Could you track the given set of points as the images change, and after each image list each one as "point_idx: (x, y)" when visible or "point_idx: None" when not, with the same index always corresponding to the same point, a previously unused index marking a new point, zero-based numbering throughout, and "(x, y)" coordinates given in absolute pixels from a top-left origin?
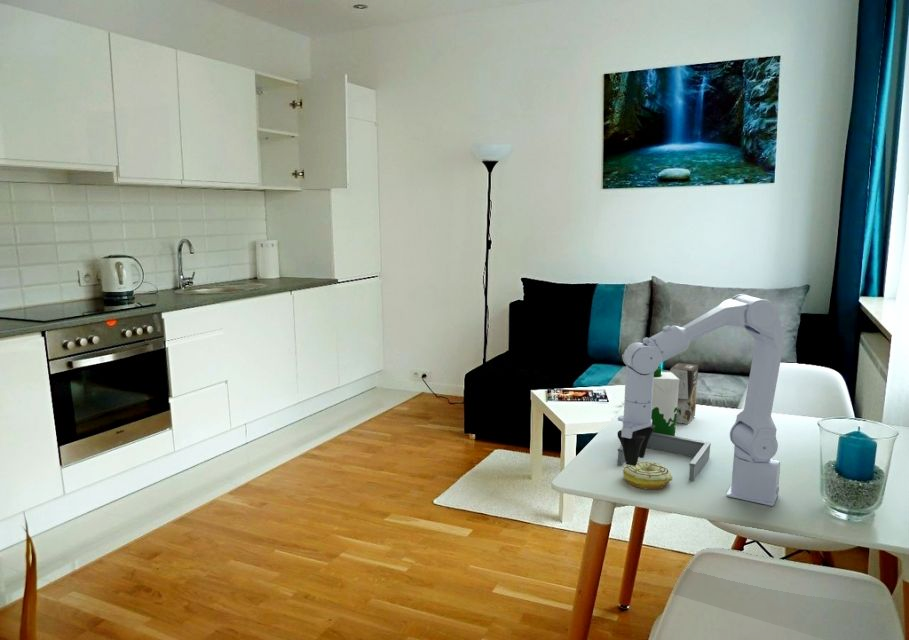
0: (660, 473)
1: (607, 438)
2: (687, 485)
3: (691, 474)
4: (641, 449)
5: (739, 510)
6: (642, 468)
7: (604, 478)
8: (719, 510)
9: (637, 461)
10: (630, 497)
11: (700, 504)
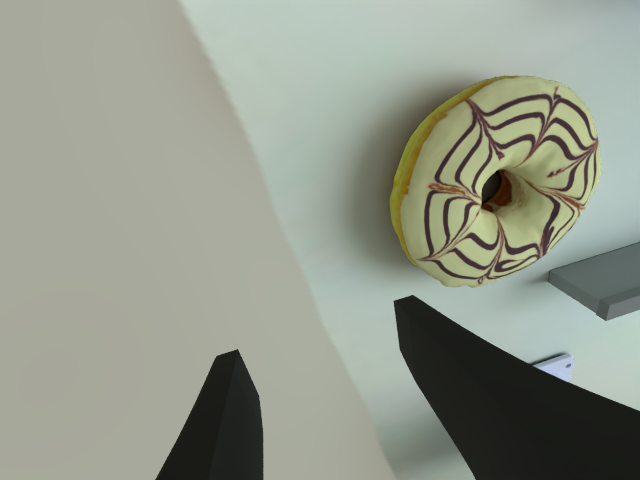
0: (478, 272)
1: None
2: (507, 288)
3: (568, 288)
4: (431, 391)
5: (419, 429)
6: (517, 167)
7: (393, 8)
8: (389, 412)
9: (260, 426)
10: (284, 227)
11: (394, 374)
